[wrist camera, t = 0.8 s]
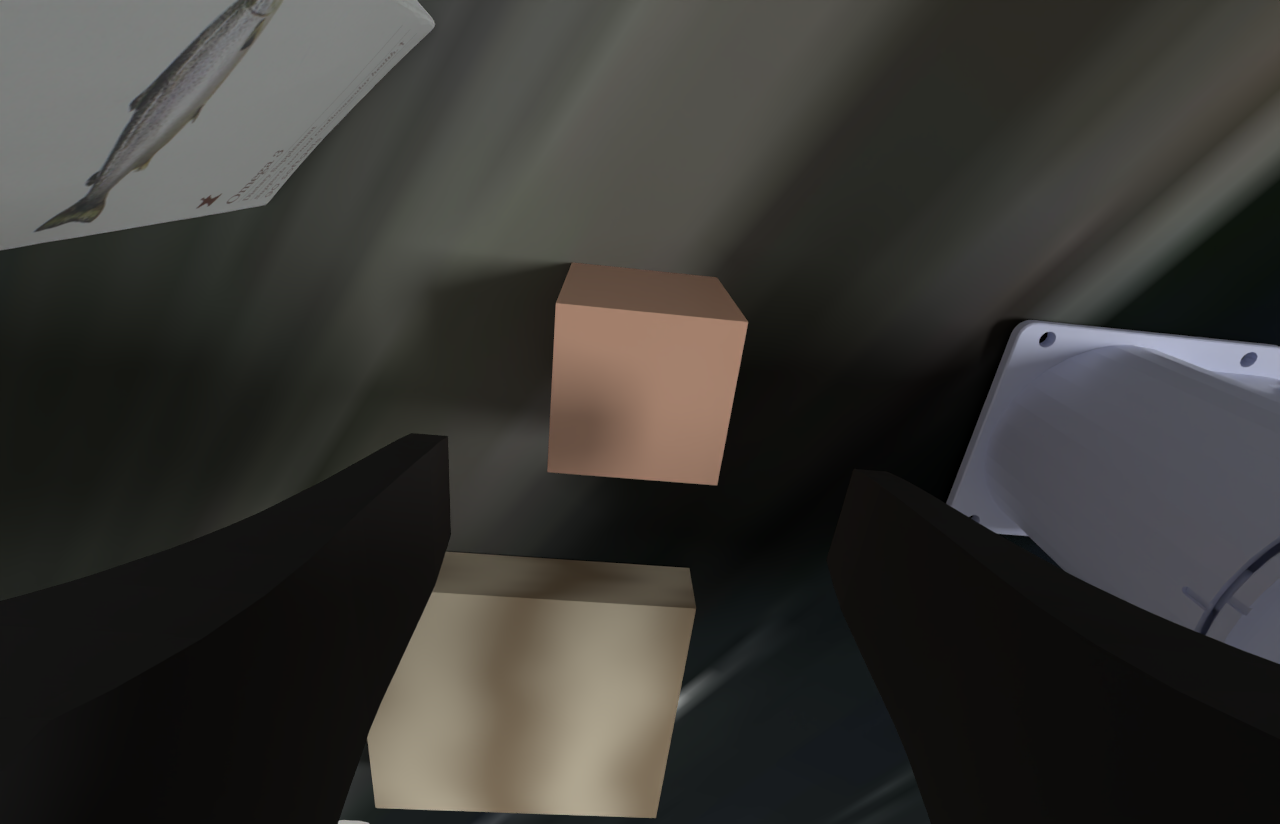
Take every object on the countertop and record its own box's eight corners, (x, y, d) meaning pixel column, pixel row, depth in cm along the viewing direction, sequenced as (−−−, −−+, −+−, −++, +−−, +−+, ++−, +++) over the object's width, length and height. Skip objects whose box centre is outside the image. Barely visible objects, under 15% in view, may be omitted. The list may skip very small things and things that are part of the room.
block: (716, 276, 18) (748, 322, 14) (695, 408, 20) (716, 485, 16) (572, 262, 18) (555, 302, 14) (563, 396, 20) (547, 472, 15)
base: (689, 567, 23) (696, 608, 21) (653, 769, 28) (655, 818, 26) (373, 546, 22) (348, 587, 20) (393, 758, 27) (375, 807, 25)
